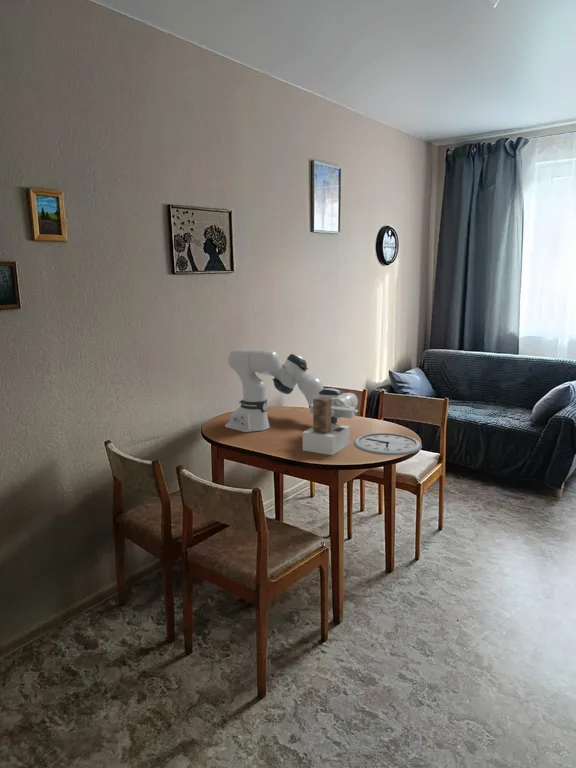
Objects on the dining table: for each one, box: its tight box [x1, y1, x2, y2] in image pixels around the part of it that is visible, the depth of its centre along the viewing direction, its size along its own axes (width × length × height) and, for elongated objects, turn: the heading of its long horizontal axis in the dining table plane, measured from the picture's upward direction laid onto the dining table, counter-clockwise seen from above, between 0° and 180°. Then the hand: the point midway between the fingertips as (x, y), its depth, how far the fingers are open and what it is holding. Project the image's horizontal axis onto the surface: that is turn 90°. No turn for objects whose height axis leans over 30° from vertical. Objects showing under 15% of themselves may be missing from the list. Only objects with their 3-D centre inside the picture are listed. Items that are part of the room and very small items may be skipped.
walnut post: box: [312, 397, 331, 433], centre depth 226 cm, size 6×5×14 cm
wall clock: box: [352, 432, 423, 456], centre depth 236 cm, size 30×2×30 cm
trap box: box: [302, 423, 351, 456], centre depth 232 cm, size 14×18×8 cm
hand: (324, 414), depth 228 cm, fingers closed, pressing on walnut post
